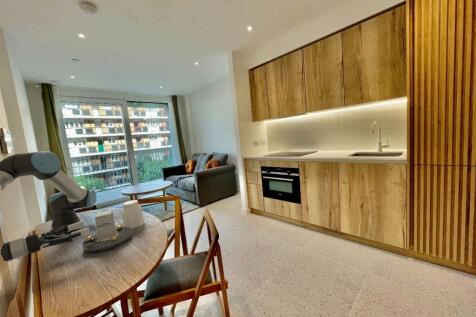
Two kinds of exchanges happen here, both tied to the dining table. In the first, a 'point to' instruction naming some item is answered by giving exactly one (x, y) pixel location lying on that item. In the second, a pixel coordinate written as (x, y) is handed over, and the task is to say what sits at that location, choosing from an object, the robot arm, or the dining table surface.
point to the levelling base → (107, 240)
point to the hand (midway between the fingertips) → (86, 226)
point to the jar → (132, 214)
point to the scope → (68, 222)
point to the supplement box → (105, 224)
